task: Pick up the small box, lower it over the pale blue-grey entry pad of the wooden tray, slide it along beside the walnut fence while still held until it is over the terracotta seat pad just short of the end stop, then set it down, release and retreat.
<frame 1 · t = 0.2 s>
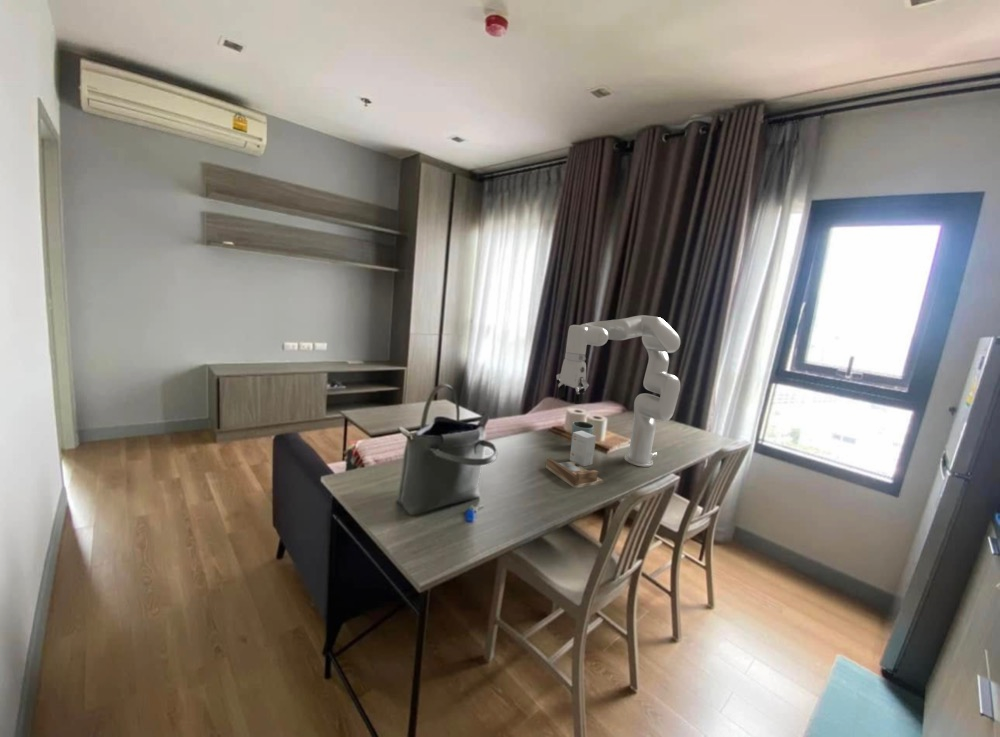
hand: (569, 400, 162), 31 cm above the table, fingers open, 9 cm apart
wooden tray: (573, 475, 166), on the table
small box: (580, 462, 181), on the table
teal cup: (579, 448, 198), on the table
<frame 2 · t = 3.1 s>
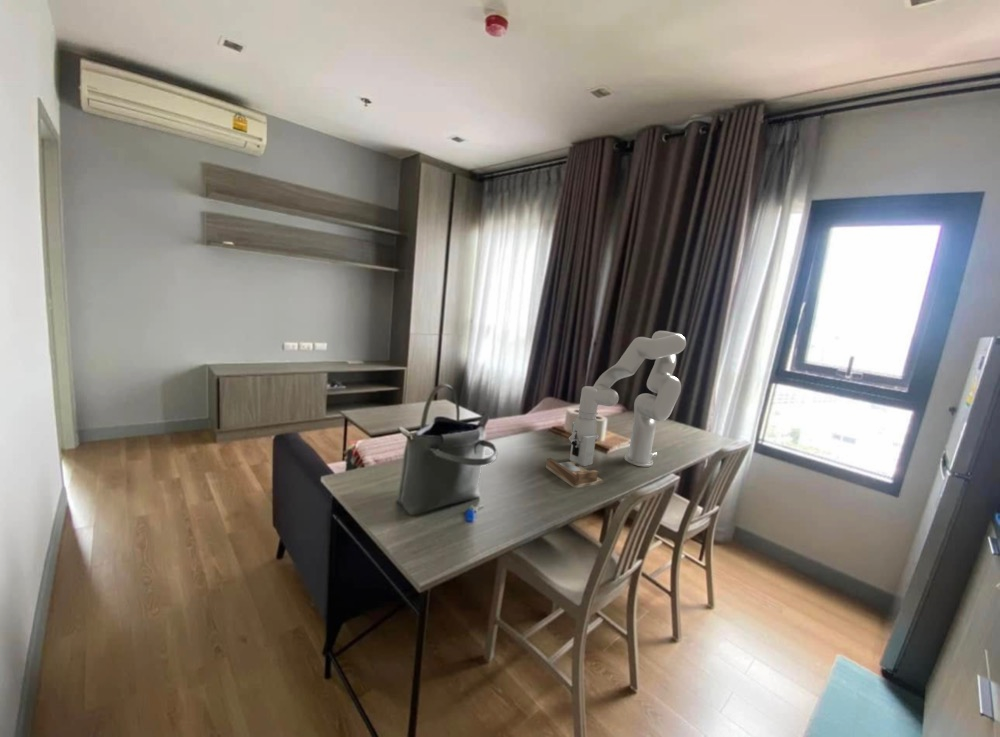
hand: (581, 453, 180), 4 cm above the table, fingers closed on small box, 7 cm apart
small box: (580, 462, 181), on the table, touching gripper
everything else where it was.
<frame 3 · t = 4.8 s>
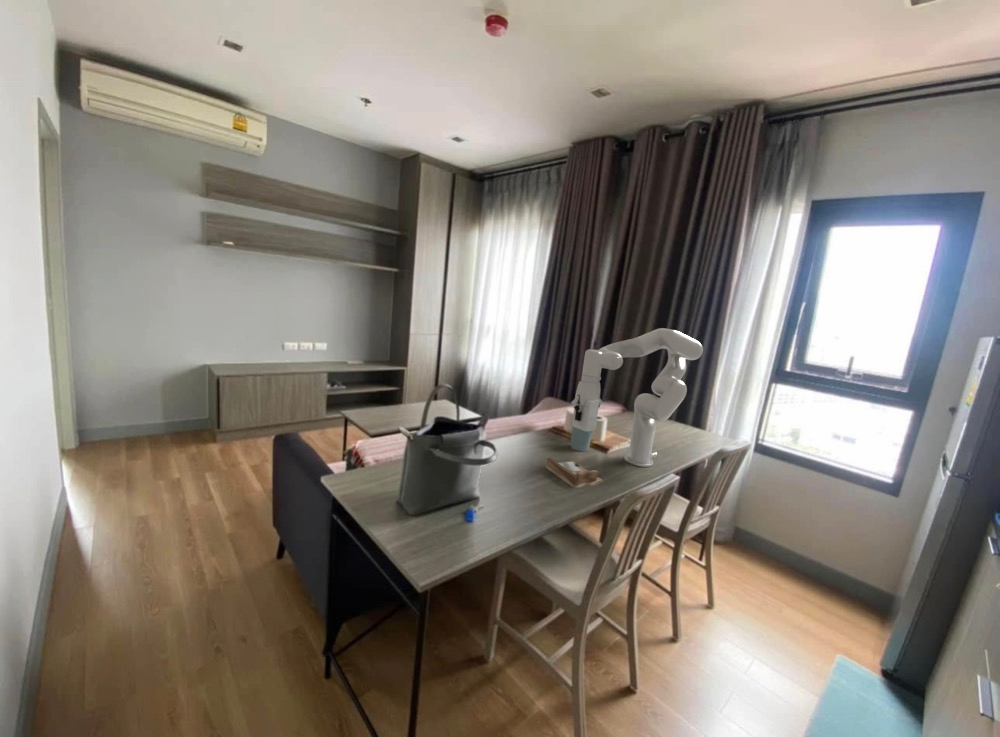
hand: (584, 419, 176), 20 cm above the table, fingers closed on small box, 7 cm apart
small box: (583, 428, 177), point 16 cm above the table, touching gripper
everything else where it was.
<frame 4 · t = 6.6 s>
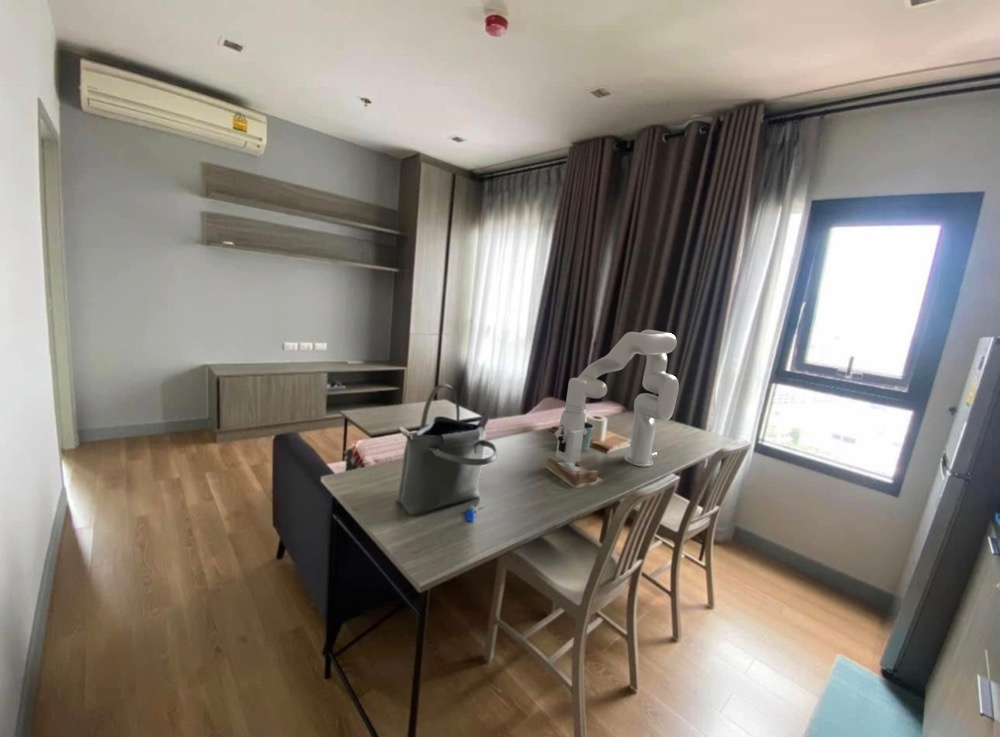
hand: (568, 450, 169), 9 cm above the table, fingers closed on small box, 7 cm apart
small box: (567, 459, 170), point 5 cm above the table, touching gripper
everything else where it was.
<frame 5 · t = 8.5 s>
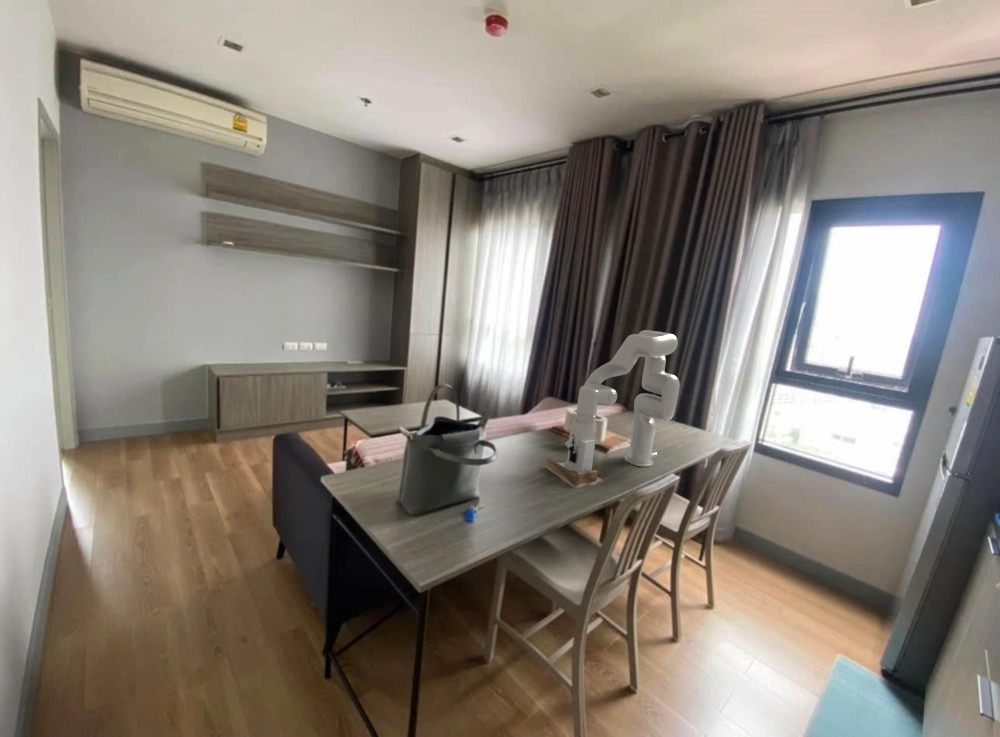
hand: (579, 460, 164), 7 cm above the table, fingers closed on small box, 7 cm apart
small box: (578, 469, 165), point 3 cm above the table, touching gripper
everything else where it was.
when the fingers open (6 cm above the table, at t = 10.1 s): small box stays where it is, resting on wooden tray.
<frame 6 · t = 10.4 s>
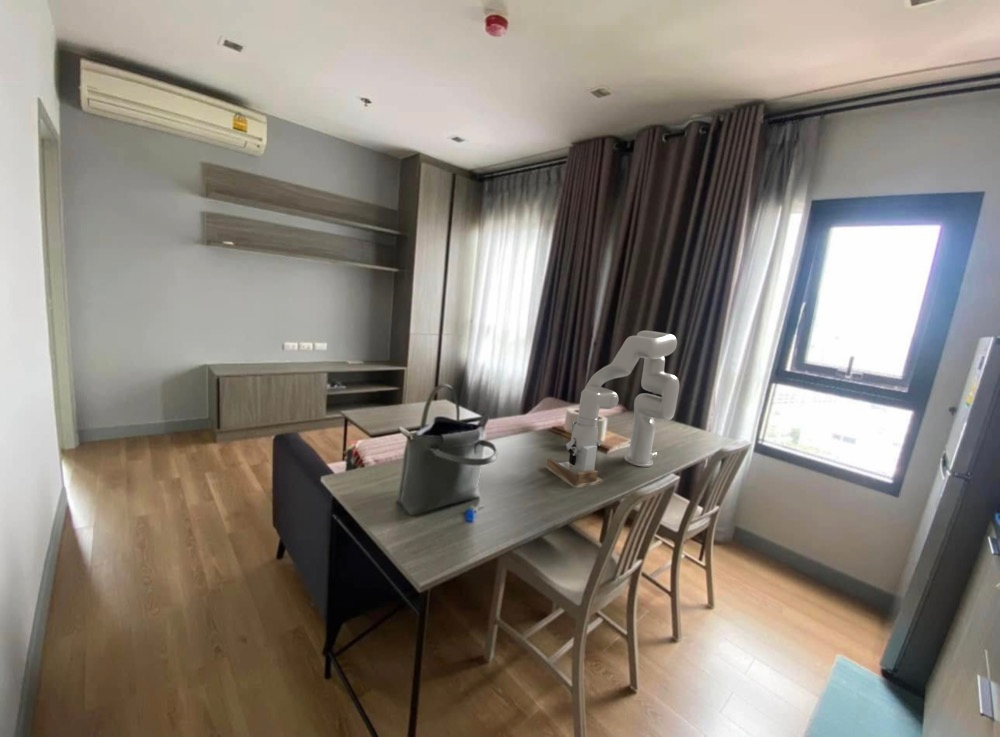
hand: (581, 462, 163), 7 cm above the table, fingers open, 9 cm apart
small box: (580, 475, 164), point 1 cm above the table, touching wooden tray
everything else where it was.
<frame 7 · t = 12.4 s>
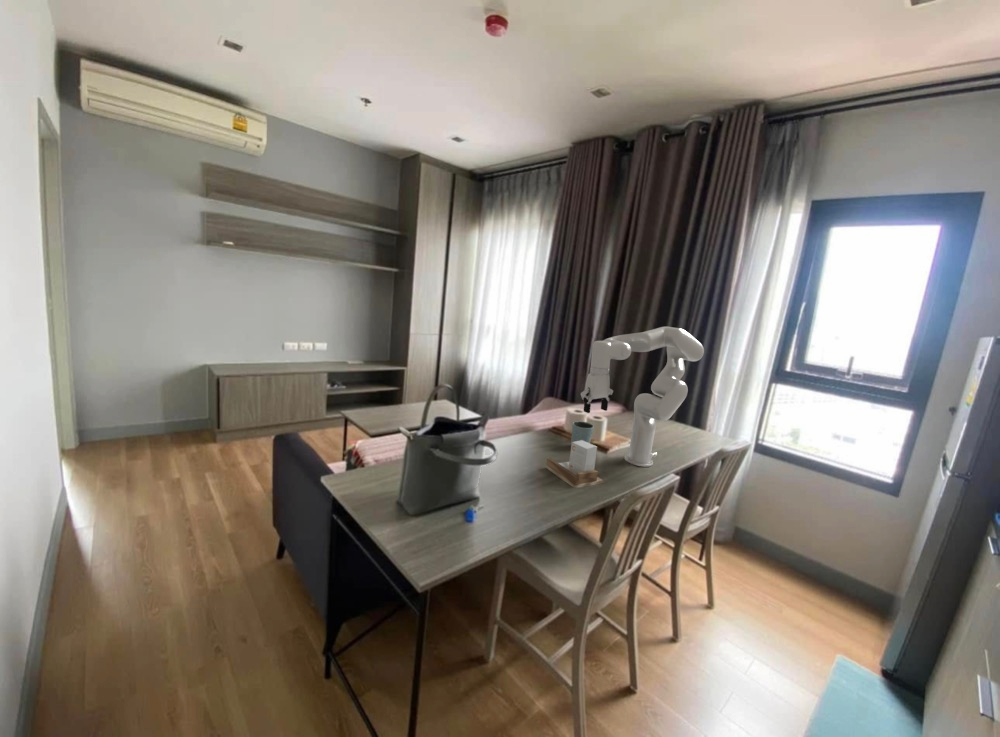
hand: (595, 411, 173), 25 cm above the table, fingers open, 9 cm apart
nothing on the table moved.
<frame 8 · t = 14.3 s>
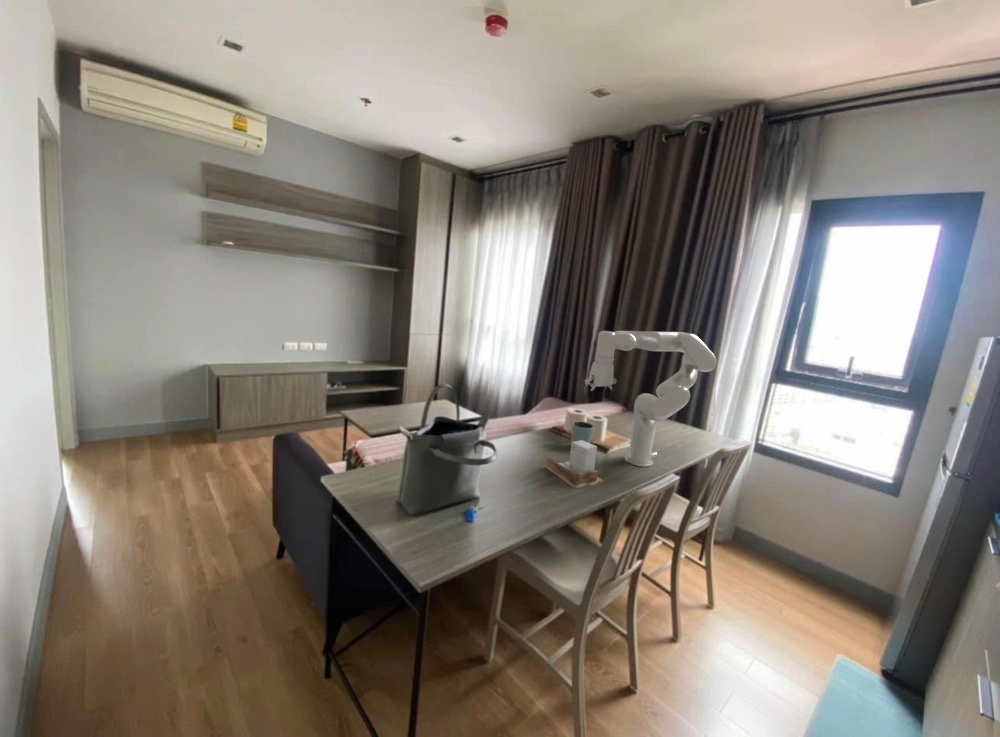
hand: (598, 398, 179), 28 cm above the table, fingers open, 9 cm apart
nothing on the table moved.
at the end: small box 0.6 cm from the target spot, point 1.1 cm above the table; small box tilted 0°; the gripper is holding nothing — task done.
